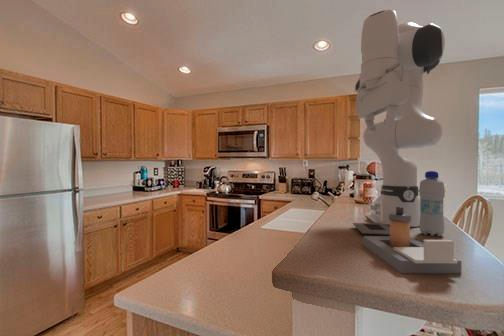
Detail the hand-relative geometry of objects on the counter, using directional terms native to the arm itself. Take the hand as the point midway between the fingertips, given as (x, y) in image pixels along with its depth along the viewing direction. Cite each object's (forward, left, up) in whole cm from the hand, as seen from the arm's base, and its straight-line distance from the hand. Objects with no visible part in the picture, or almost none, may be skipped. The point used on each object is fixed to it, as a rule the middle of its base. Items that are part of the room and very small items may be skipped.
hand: (379, 129), depth 65 cm
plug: (+4, +3, -31) cm, 31 cm away
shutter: (+13, +3, -28) cm, 31 cm away
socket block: (+6, +3, -31) cm, 32 cm away
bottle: (-14, +23, -31) cm, 41 cm away
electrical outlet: (-16, +6, -32) cm, 36 cm away
